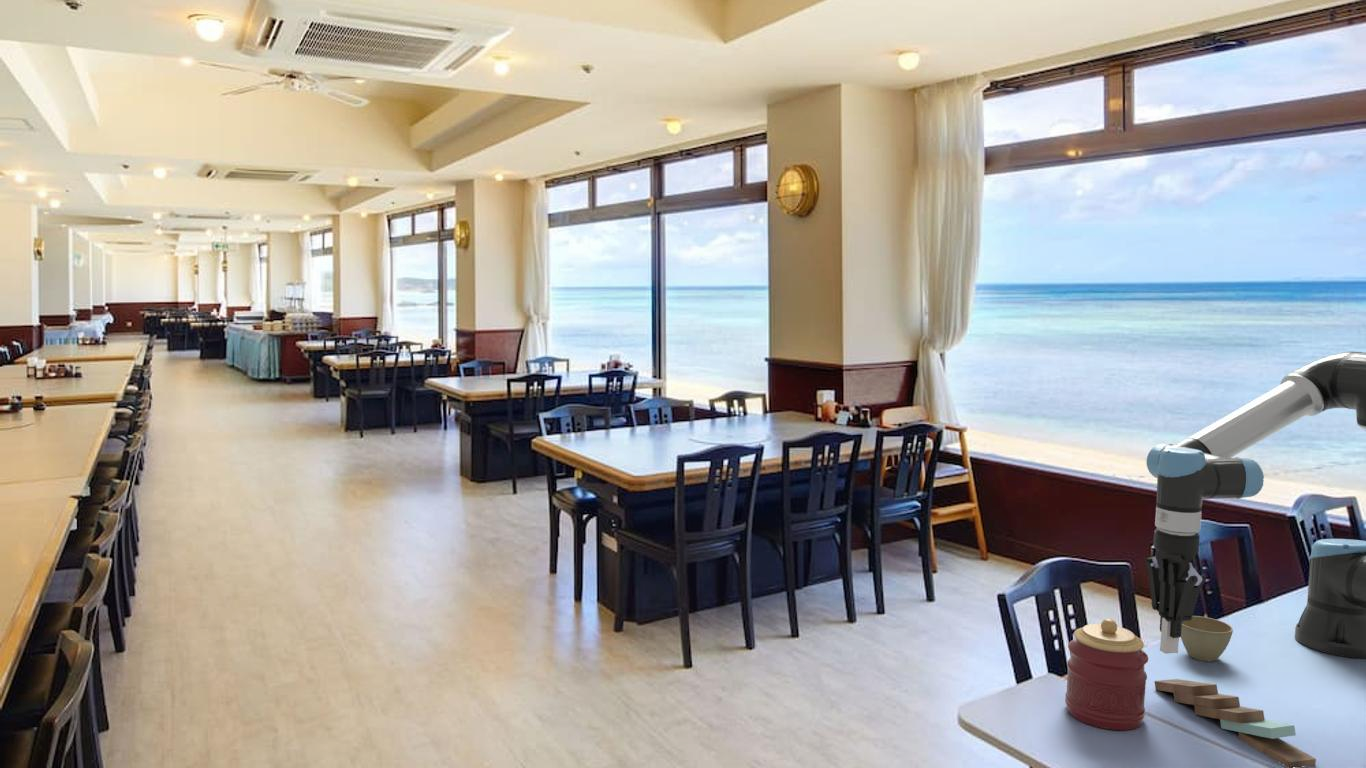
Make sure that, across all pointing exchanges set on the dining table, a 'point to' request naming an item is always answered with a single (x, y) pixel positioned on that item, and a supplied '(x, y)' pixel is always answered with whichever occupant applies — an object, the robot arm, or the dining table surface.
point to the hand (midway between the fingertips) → (1168, 651)
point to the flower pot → (1205, 637)
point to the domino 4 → (1261, 728)
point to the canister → (1106, 677)
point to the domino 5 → (1278, 750)
